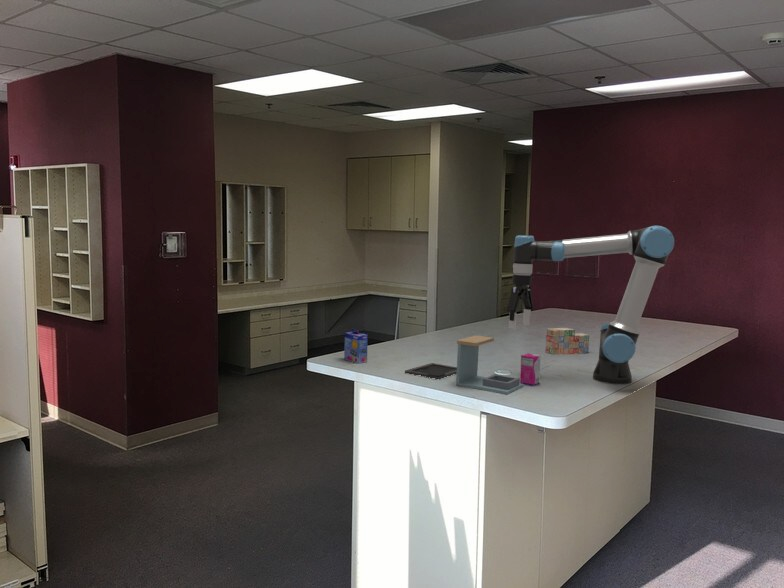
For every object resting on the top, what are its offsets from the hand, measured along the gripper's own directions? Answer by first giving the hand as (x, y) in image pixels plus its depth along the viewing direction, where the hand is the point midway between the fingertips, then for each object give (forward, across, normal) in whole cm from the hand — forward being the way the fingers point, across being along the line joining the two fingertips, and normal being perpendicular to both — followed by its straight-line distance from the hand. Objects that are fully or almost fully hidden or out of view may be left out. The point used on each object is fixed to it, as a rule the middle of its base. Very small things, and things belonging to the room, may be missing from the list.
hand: (519, 327), depth 265 cm
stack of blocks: (+21, -71, -5) cm, 74 cm away
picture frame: (+22, +14, -30) cm, 40 cm away
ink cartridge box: (+21, +21, -67) cm, 73 cm away
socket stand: (+21, +19, -2) cm, 29 cm away
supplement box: (+21, +5, +8) cm, 23 cm away
